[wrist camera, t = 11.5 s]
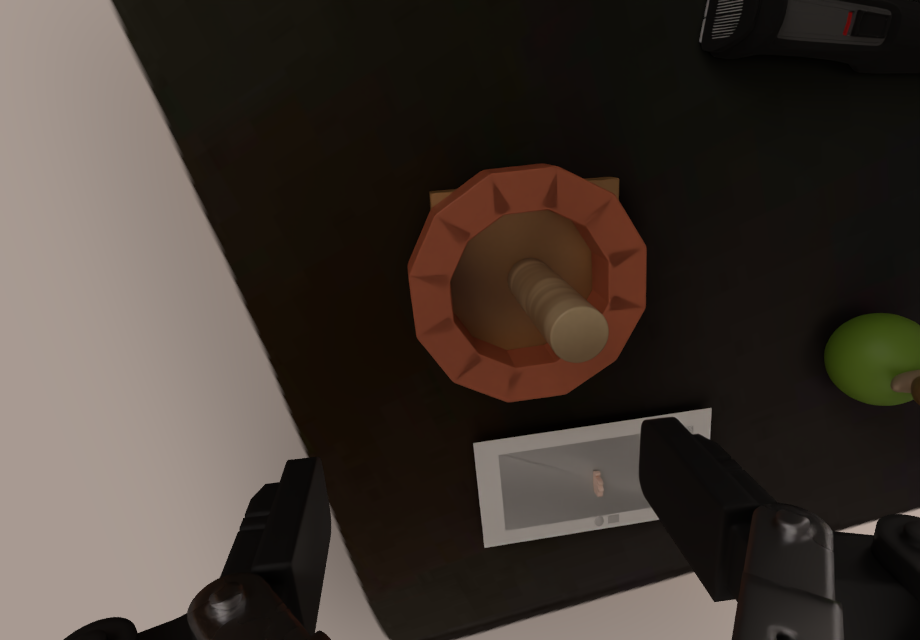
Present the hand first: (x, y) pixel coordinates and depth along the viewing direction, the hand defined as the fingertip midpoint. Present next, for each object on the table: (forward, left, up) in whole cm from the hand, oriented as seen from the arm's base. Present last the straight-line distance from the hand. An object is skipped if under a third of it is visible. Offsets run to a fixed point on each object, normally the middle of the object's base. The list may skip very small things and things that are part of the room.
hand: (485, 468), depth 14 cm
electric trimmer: (-11, +22, -19) cm, 31 cm away
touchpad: (+14, +9, -19) cm, 25 cm away
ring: (0, +5, -17) cm, 18 cm away
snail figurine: (+7, +26, -19) cm, 33 cm away
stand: (0, +5, -18) cm, 19 cm away
